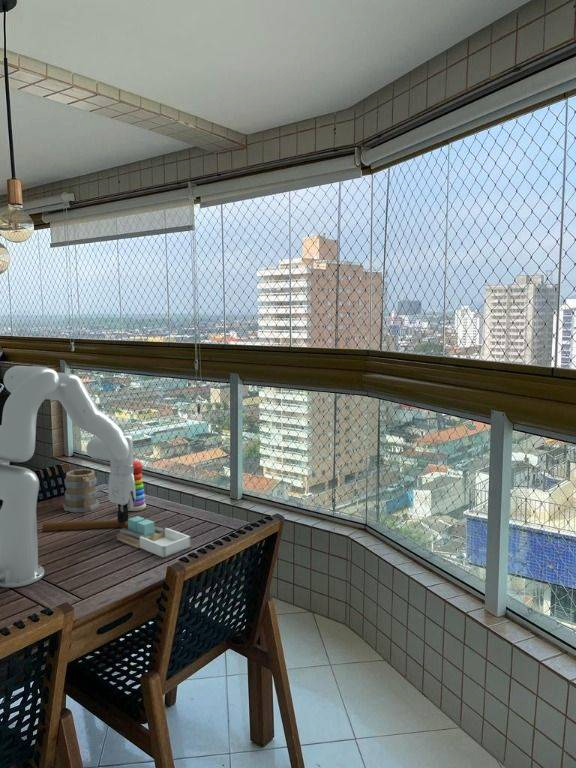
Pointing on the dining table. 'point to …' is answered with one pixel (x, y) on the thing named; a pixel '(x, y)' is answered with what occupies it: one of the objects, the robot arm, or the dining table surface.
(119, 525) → the hammer
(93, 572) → the dining table surface
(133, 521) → the teal cube block
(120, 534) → the slot board
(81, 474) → the tankard
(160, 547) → the tray
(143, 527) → the light teal cube
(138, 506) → the stacking toy
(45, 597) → the dining table surface
